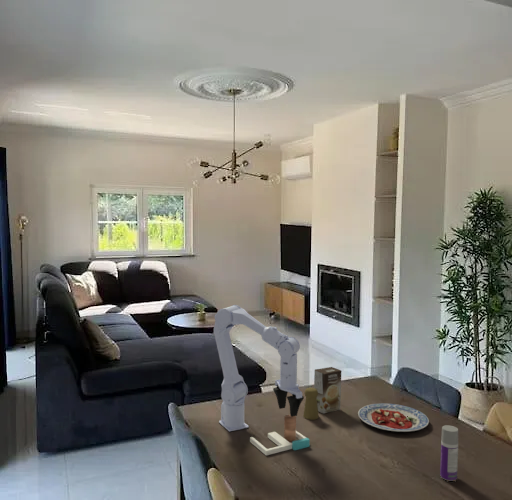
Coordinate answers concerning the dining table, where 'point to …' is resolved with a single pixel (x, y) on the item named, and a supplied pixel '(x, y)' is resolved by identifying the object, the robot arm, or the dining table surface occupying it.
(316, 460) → the dining table surface
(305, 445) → the slot rack
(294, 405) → the robot arm
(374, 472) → the dining table surface
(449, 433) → the container
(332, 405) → the coffee box
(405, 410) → the ceramic plate
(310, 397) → the olive yellow shaker
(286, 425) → the peg
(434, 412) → the dining table surface
